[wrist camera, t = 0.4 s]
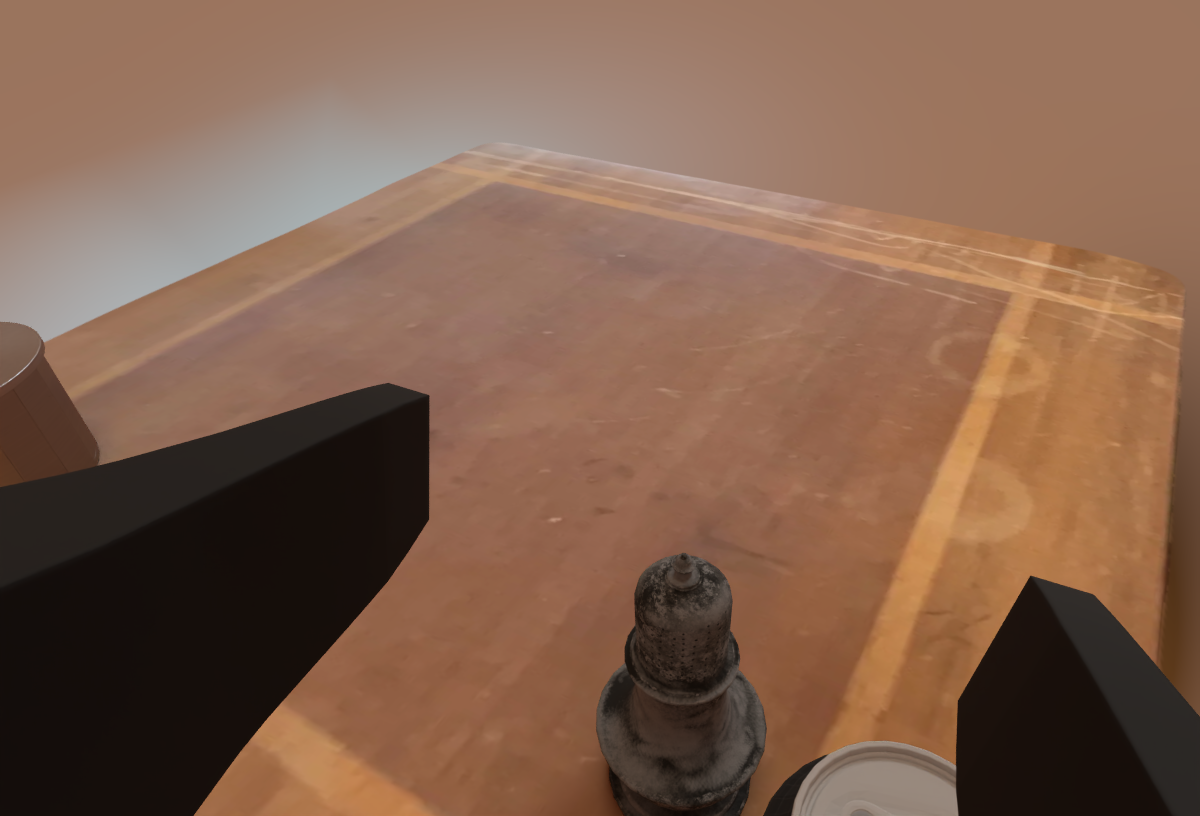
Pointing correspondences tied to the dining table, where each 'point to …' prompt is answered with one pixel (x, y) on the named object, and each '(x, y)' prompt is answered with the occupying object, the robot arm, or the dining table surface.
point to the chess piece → (681, 700)
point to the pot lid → (18, 354)
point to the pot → (42, 431)
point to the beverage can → (870, 784)
